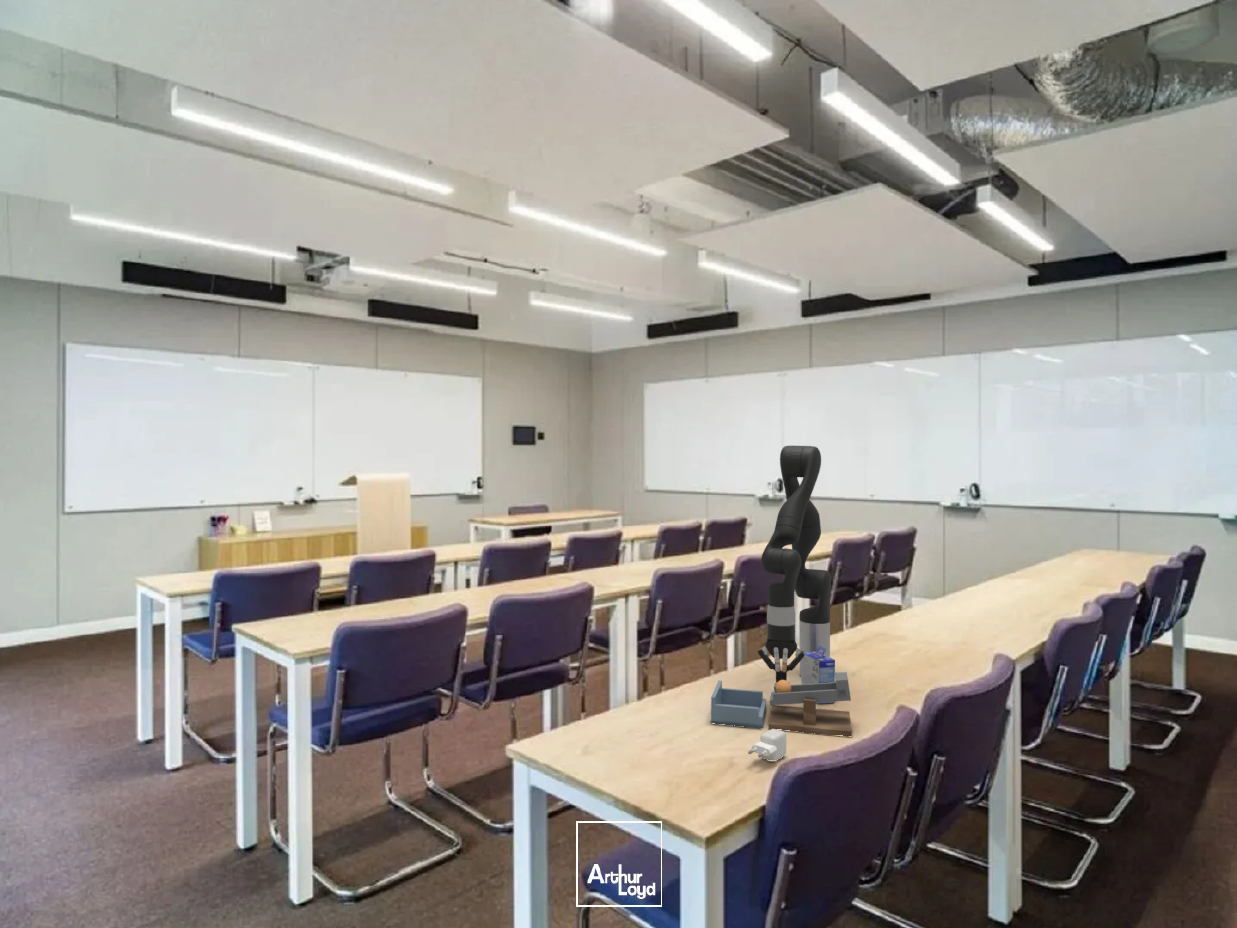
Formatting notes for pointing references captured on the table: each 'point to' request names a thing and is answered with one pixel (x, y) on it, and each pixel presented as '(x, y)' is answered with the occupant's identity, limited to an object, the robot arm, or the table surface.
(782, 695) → the lever
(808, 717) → the lever stand
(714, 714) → the bin
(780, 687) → the ball
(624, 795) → the table surface
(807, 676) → the ink cartridge box
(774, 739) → the power adapter
